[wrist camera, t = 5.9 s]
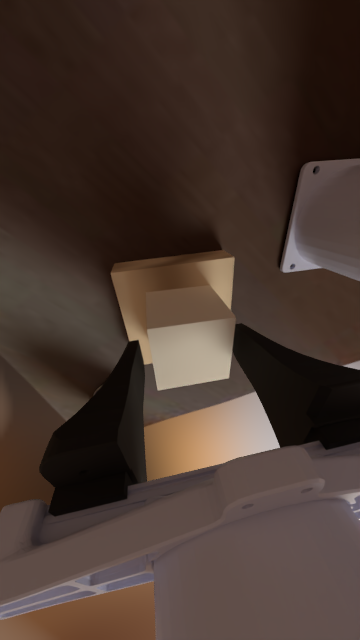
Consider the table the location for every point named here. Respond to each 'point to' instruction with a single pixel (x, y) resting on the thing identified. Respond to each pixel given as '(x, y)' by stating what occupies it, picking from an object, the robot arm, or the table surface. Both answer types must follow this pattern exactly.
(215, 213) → the table surface
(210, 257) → the oak box
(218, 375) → the cream block
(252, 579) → the robot arm
